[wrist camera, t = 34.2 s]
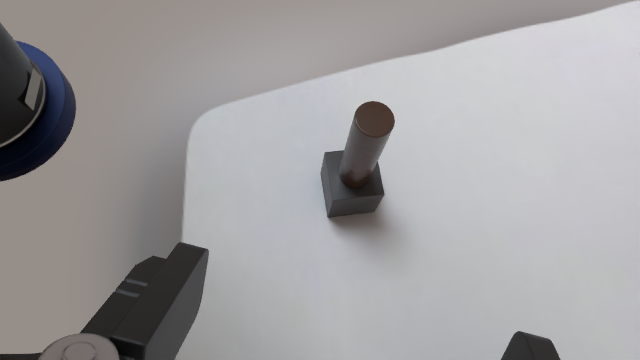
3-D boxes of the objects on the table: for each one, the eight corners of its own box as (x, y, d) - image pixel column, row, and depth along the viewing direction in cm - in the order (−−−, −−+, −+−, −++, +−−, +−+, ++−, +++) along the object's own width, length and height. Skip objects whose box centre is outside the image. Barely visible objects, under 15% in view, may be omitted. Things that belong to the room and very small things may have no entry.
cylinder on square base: (327, 217, 37) (347, 152, 26) (320, 173, 38) (336, 92, 27) (374, 211, 37) (414, 145, 26) (365, 168, 39) (400, 86, 27)
